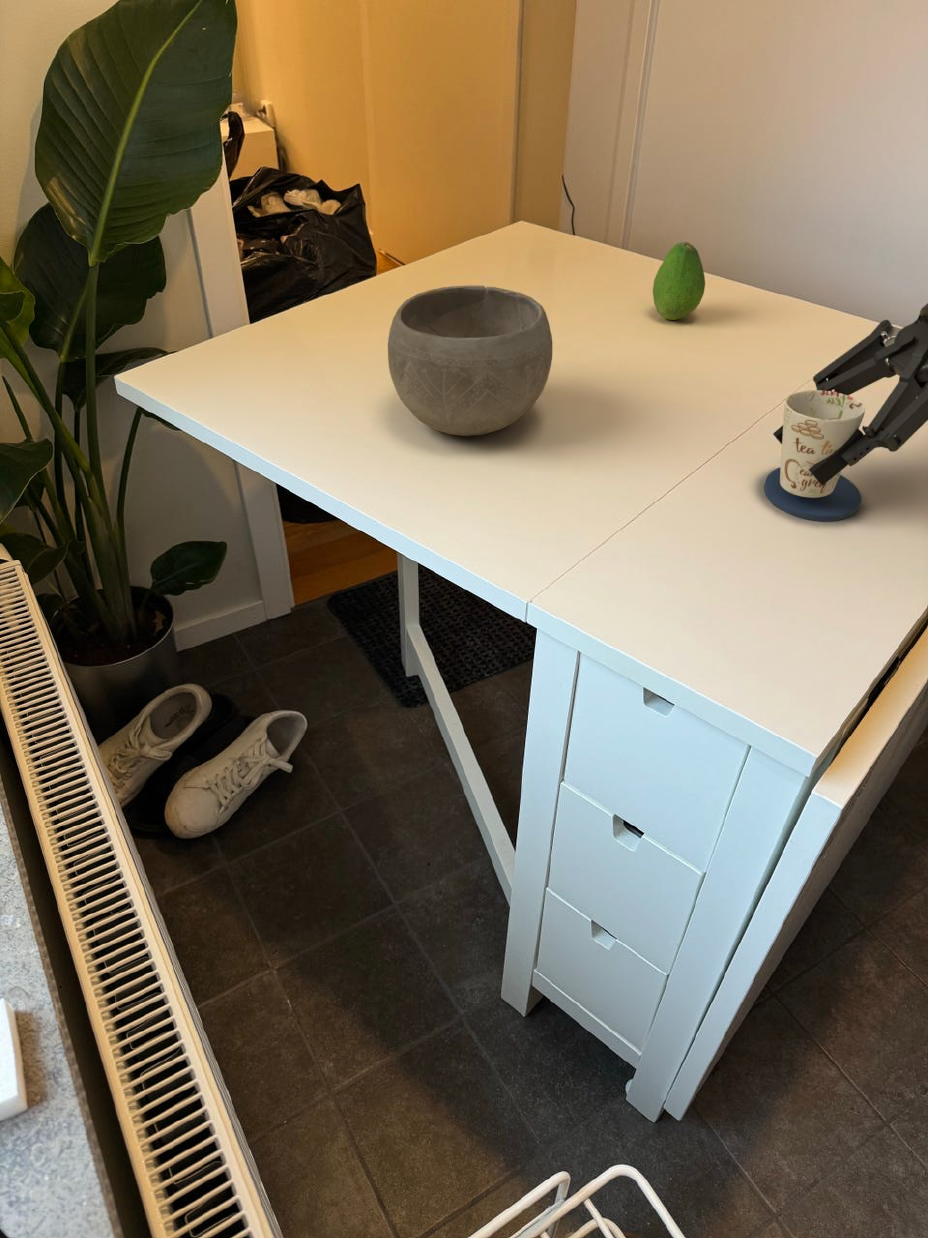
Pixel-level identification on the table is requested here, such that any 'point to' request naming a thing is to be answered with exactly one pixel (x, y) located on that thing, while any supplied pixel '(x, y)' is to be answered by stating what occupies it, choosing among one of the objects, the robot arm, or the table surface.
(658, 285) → the fruit
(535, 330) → the bowl
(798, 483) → the mug
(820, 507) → the coaster
